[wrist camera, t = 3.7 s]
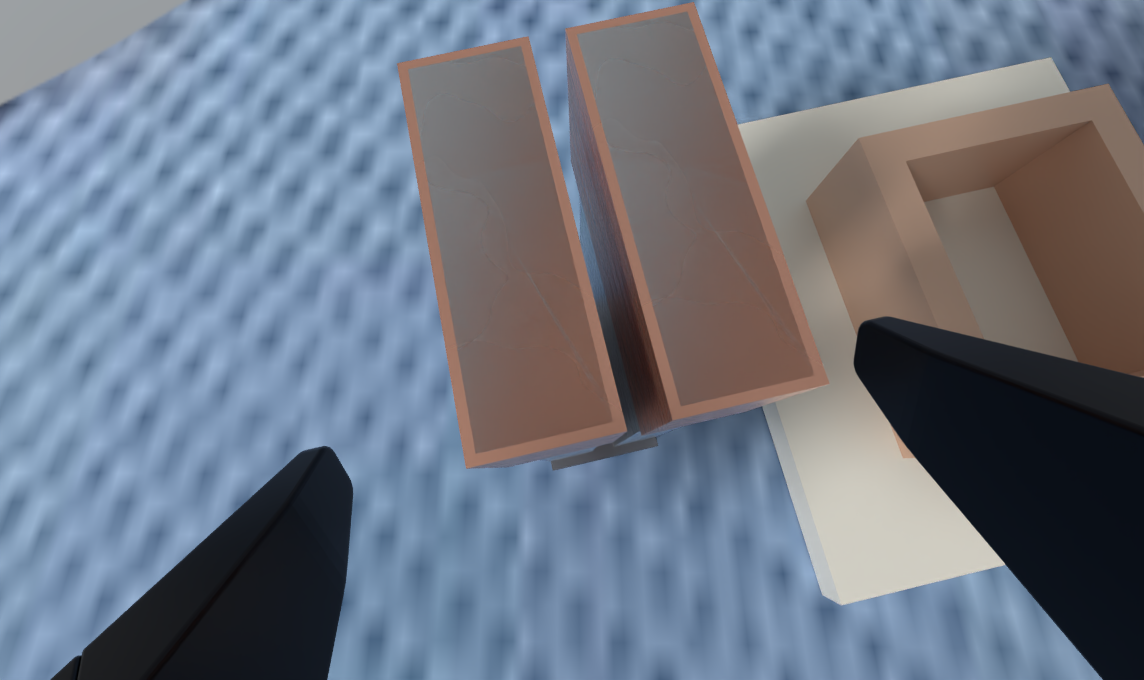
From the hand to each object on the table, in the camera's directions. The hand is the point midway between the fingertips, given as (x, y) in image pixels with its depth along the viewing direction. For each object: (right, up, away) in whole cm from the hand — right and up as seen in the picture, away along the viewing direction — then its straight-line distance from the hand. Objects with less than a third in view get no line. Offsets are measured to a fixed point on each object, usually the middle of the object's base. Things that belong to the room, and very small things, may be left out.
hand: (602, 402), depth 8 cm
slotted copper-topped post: (0, -1, +9) cm, 9 cm away
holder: (+12, +2, +9) cm, 16 cm away
